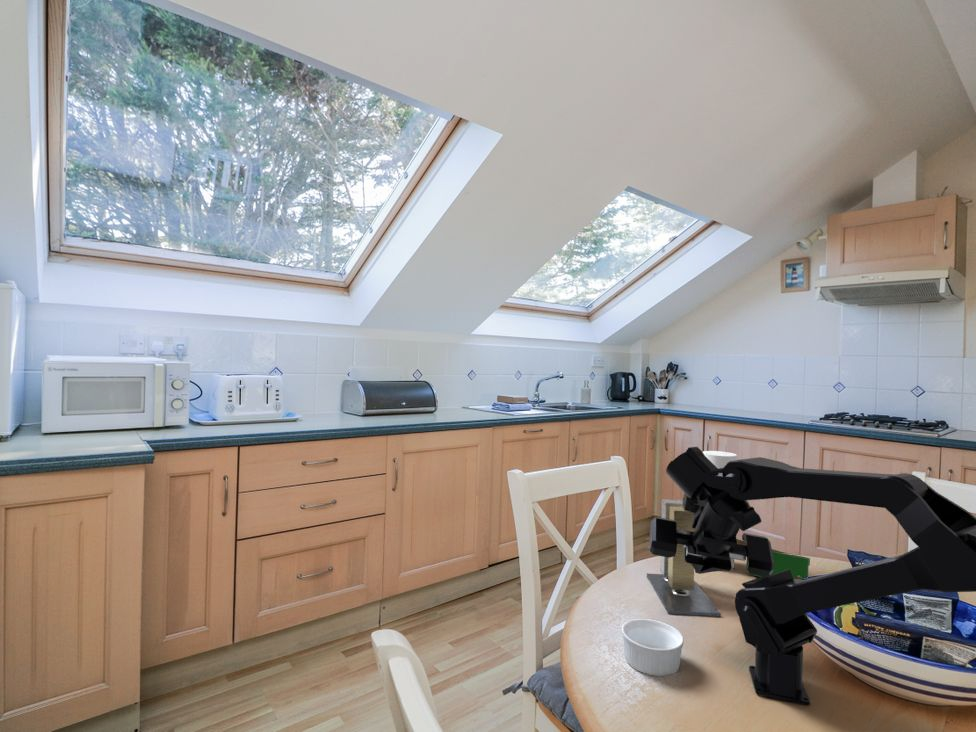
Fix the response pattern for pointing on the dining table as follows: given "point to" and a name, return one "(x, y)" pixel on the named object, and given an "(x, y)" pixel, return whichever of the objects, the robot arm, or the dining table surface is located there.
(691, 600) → the bolt plate
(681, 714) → the dining table surface
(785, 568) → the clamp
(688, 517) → the sliding leg
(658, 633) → the ramekin
